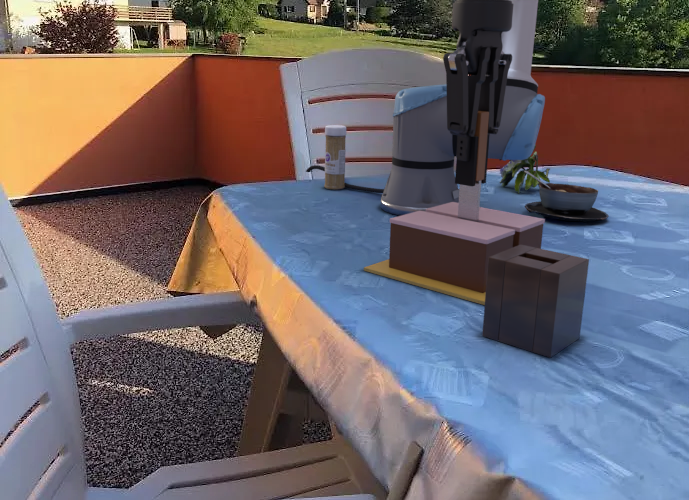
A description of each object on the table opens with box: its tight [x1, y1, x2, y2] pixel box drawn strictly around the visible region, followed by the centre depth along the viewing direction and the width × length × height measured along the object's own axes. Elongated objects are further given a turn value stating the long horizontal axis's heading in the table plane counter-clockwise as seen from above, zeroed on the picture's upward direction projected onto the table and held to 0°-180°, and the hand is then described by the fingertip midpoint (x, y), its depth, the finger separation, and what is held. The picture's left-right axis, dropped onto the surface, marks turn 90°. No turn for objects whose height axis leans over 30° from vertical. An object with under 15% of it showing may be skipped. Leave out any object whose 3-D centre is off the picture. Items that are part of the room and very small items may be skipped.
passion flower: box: [498, 144, 551, 195], centre depth 156 cm, size 11×11×12 cm
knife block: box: [481, 245, 590, 359], centre depth 76 cm, size 8×7×9 cm
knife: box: [458, 111, 489, 222], centre depth 96 cm, size 3×2×21 cm, turn 48°
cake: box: [363, 202, 546, 306], centre depth 98 cm, size 20×20×8 cm
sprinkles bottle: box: [323, 124, 347, 191], centre depth 152 cm, size 5×5×14 cm
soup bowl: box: [524, 171, 609, 222], centre depth 131 cm, size 15×16×7 cm
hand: (470, 182), depth 96 cm, fingers closed on knife, 2 cm apart
